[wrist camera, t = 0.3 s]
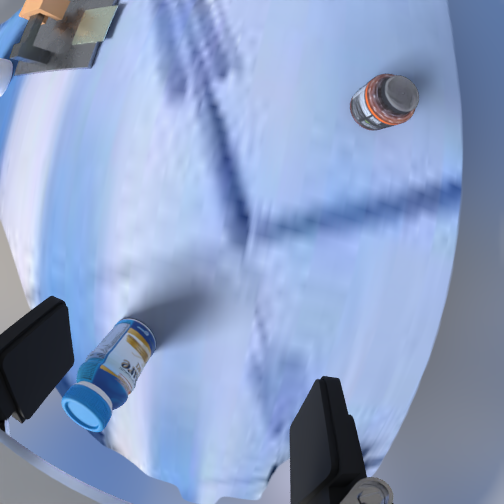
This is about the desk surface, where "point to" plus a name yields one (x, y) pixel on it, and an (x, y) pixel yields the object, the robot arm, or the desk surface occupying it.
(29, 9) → the orange staple
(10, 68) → the cylinder with rectangular tab
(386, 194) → the desk surface
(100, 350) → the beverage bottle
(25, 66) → the stand
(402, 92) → the supplement bottle
